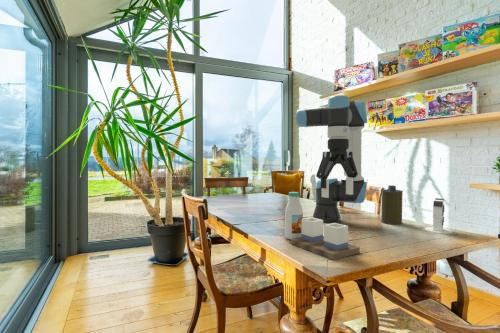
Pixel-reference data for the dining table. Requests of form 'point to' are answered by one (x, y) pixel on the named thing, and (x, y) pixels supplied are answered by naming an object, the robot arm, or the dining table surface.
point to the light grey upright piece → (438, 218)
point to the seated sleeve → (312, 229)
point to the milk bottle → (293, 217)
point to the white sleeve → (336, 236)
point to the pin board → (325, 248)
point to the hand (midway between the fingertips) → (337, 195)
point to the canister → (391, 206)
